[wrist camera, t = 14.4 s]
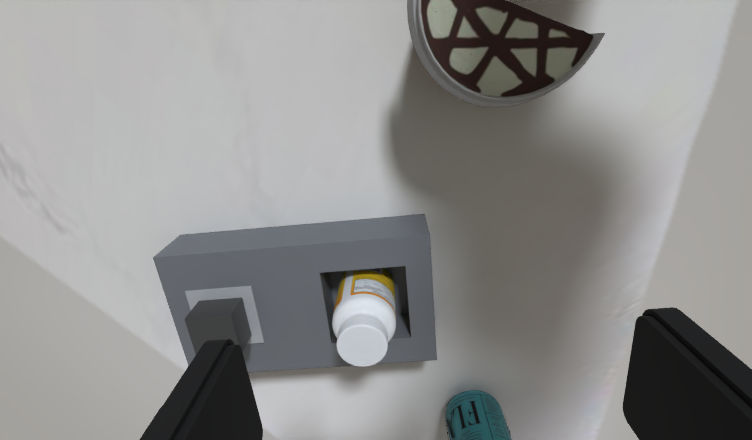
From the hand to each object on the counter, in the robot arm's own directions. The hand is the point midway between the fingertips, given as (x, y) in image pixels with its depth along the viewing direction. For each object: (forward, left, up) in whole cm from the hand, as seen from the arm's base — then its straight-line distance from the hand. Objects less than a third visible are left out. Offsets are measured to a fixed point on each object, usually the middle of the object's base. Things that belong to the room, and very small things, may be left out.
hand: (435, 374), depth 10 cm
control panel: (+10, +13, -28) cm, 33 cm away
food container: (-6, -7, -28) cm, 30 cm away
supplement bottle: (+4, +13, -28) cm, 31 cm away
